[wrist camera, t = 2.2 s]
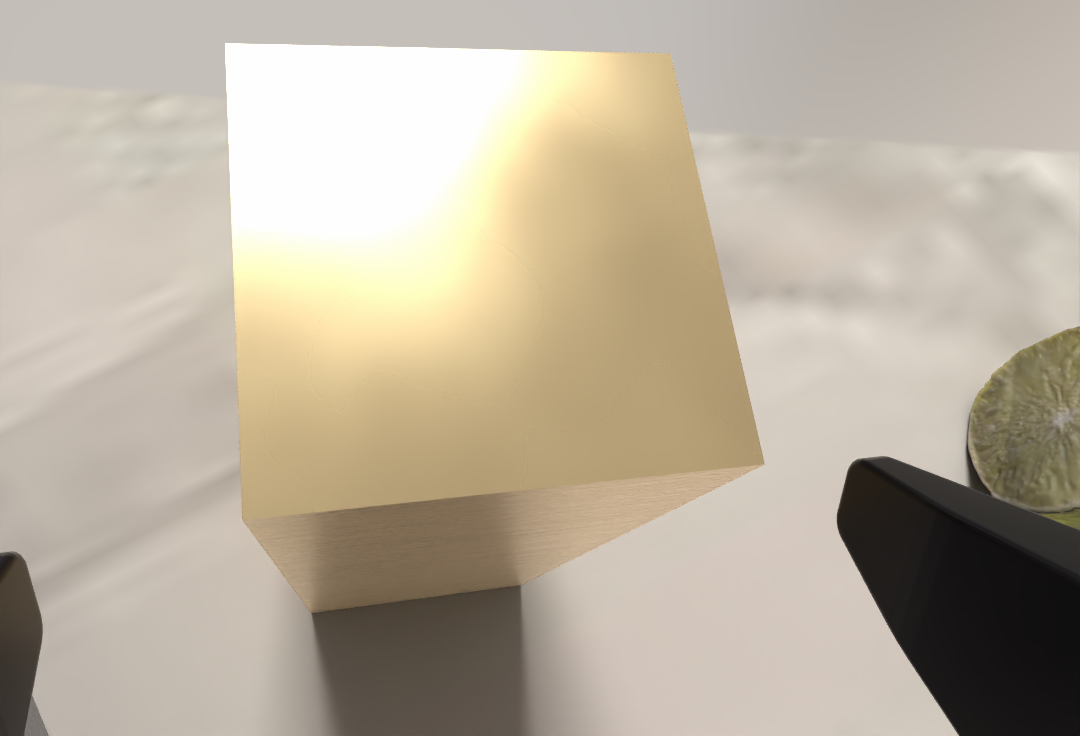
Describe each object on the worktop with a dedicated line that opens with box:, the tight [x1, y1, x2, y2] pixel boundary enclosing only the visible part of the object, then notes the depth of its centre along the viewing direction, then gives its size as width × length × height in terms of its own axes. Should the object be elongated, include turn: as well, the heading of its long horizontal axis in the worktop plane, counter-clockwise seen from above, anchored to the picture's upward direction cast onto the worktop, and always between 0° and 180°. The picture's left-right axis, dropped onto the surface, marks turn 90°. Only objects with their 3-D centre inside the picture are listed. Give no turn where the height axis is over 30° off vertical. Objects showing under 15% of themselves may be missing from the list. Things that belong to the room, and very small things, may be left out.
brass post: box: [226, 44, 764, 613], centre depth 13 cm, size 4×4×12 cm
